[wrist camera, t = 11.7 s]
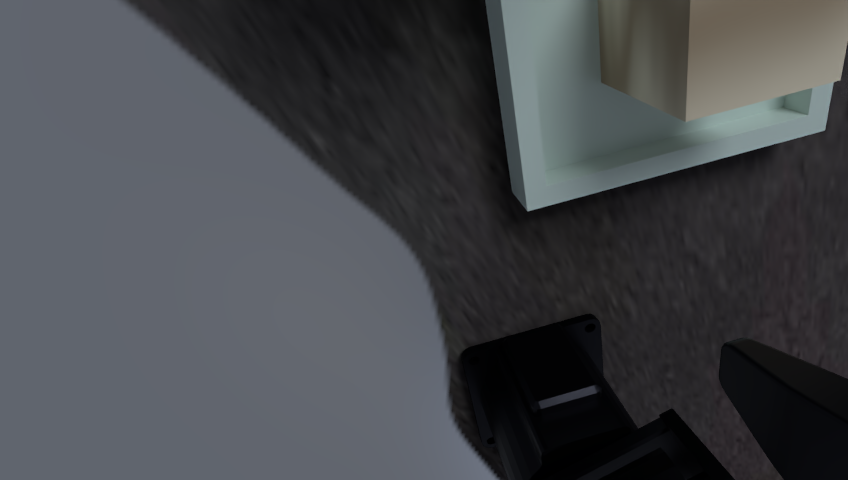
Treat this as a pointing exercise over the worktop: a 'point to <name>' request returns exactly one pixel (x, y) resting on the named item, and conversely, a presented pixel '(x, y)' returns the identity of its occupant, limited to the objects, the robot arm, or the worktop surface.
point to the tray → (607, 110)
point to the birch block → (719, 50)
